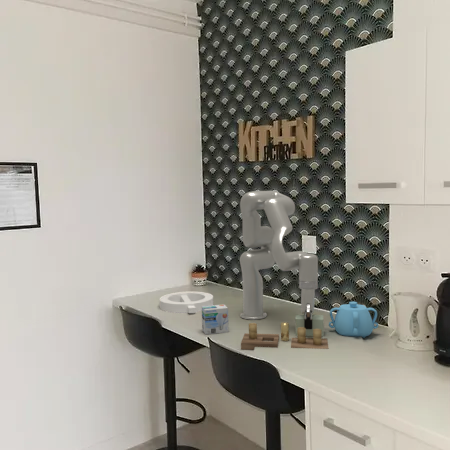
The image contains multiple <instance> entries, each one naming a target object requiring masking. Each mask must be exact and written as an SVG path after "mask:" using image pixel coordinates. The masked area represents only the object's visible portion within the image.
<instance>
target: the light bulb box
mask: <svg viewBox="0 0 450 450" xmlns="http://www.w3.org/2000/svg"><path fill="white" fill-rule="evenodd" d="M201 325H202V326H201V328H202V329H201V330H202V332H203V333H204V335H214V334H223V333H229V332H230V331H229V329H230V327H229V307H227V305H226V304H213V305H212V306H202V311H201Z"/></svg>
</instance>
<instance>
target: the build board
mask: <svg viewBox="0 0 450 450" xmlns="http://www.w3.org/2000/svg"><path fill="white" fill-rule="evenodd" d="M279 340H280V334H278V333H258V324H257V323H256V322H250V323H248V332H247V333H245V332H244V334H243V336H242V339H241V342H240V350H243V351H244V350H248V351H251V350H252V351H254V350H255V348H277V349H278V346H279Z"/></svg>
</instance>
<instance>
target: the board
mask: <svg viewBox="0 0 450 450" xmlns="http://www.w3.org/2000/svg"><path fill="white" fill-rule="evenodd" d="M290 349H315V350H316V349H318V350H319V349H320V350H321V349H322V350H328V349H330V348H329V342H328V338H324V337H323V336H322V330H321V329H313V336H312V337H307V336H306V328H304V327H298V328H297V336H296V337H291V339H290Z"/></svg>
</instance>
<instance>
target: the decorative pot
mask: <svg viewBox="0 0 450 450" xmlns="http://www.w3.org/2000/svg"><path fill="white" fill-rule="evenodd" d="M334 311H336V314H335V316H333V312H334ZM369 311H373V312H374V316H373V317H372V316H371V313H370V312H369ZM329 317H330V320H331V321H329V322H328V326H329V328H331V329H335V331H336V332H337V334H339V335H341V336H345V337H361V338H363V339H366V337H368V336H370V335H372V332H373V330H375V329H378V328H379V323H378V322H377V321H376V320H377V318H378V311H377V310H376V308H373V307H366V306H365V305H363V304H359V303H358V302H357V301H349V302H348V304H347V303H346V304H345V303H344V304H341V305H340V306H339V307H333V308H331V309H330V310H329ZM372 318H373V319H372ZM331 324H332V325H331Z"/></svg>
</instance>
